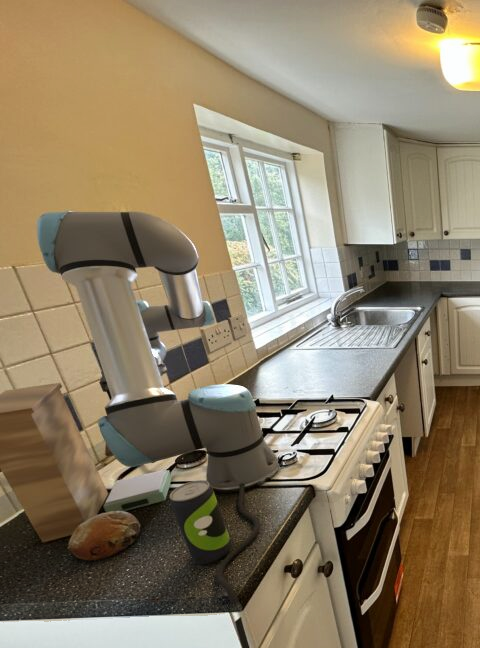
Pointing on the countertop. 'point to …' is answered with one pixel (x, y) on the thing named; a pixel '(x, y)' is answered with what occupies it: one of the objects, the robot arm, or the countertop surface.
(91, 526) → the bread roll
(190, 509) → the beverage can
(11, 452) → the stand
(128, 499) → the scale
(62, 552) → the countertop surface
